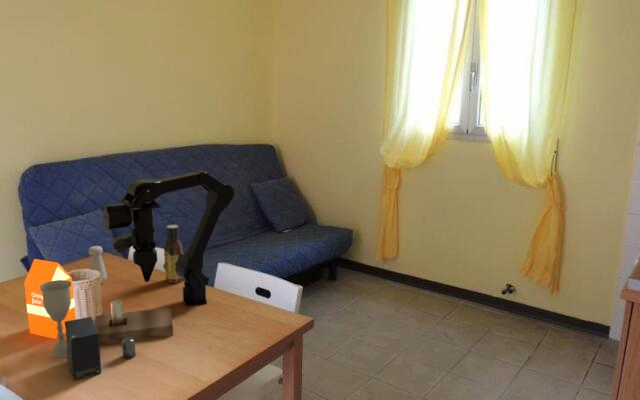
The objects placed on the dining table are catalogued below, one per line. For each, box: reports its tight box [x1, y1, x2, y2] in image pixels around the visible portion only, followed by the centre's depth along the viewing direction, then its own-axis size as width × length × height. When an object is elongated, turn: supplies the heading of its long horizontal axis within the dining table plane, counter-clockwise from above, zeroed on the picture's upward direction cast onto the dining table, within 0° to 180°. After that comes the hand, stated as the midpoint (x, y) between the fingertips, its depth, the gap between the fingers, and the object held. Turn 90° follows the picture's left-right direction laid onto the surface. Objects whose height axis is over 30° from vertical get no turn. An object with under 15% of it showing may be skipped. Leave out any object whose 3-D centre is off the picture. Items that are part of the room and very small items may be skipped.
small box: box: [64, 316, 102, 381], centre depth 119 cm, size 11×6×10 cm, turn 33°
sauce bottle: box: [163, 224, 184, 284], centre depth 173 cm, size 6×6×20 cm
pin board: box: [94, 306, 174, 346], centre depth 138 cm, size 20×12×3 cm, turn 109°
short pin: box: [121, 337, 137, 360], centre depth 125 cm, size 3×3×4 cm
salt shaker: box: [88, 245, 108, 285], centre depth 170 cm, size 6×6×13 cm
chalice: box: [39, 280, 71, 358], centre depth 125 cm, size 7×7×18 cm
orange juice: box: [23, 258, 77, 340], centre depth 136 cm, size 8×9×20 cm
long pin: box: [110, 299, 124, 327], centre depth 136 cm, size 3×3×9 cm
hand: (146, 275), depth 146 cm, fingers open, 9 cm apart
